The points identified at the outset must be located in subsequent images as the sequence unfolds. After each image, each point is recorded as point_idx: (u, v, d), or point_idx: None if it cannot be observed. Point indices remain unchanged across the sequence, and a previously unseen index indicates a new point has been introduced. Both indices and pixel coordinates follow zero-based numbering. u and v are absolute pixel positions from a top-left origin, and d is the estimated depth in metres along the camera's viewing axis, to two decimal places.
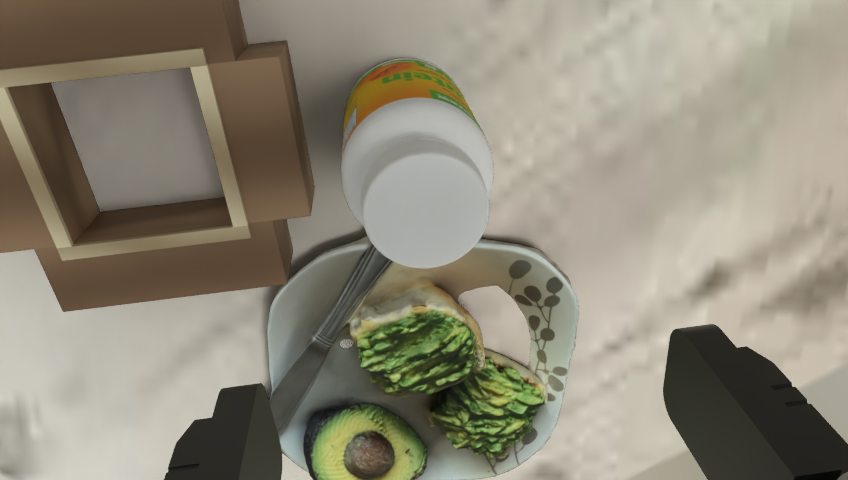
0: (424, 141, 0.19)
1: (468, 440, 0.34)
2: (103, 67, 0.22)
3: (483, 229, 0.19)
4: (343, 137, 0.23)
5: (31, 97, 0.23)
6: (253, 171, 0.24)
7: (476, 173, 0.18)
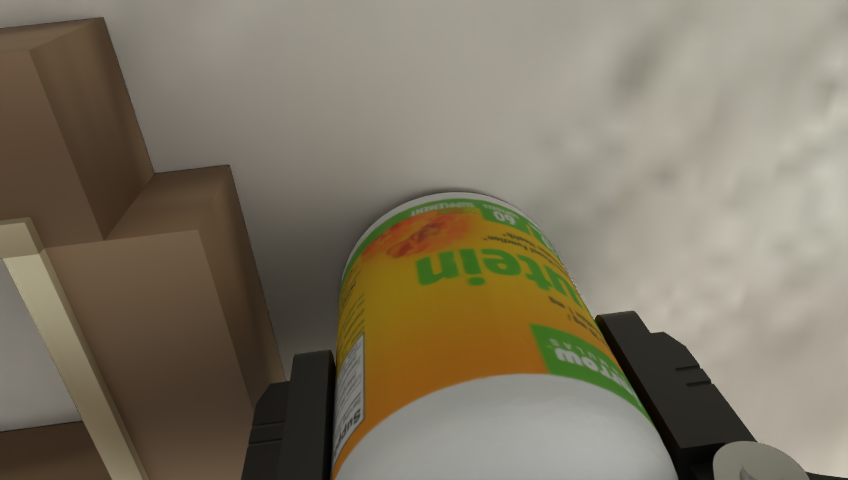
0: None
1: None
2: None
3: None
4: (336, 389, 0.11)
5: None
6: (162, 426, 0.13)
7: None
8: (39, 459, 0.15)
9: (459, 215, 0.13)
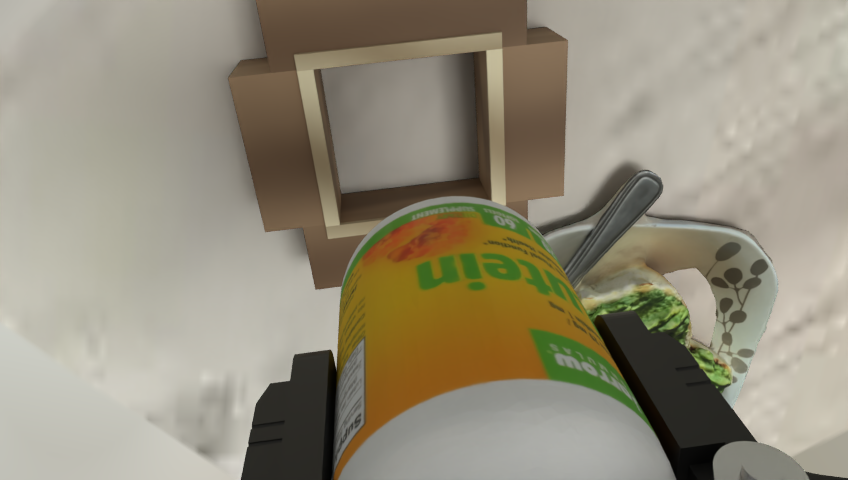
0: None
1: None
2: (407, 50, 0.23)
3: None
4: (337, 393, 0.11)
5: (318, 80, 0.24)
6: (520, 152, 0.25)
7: None
8: (422, 194, 0.28)
9: (459, 219, 0.13)
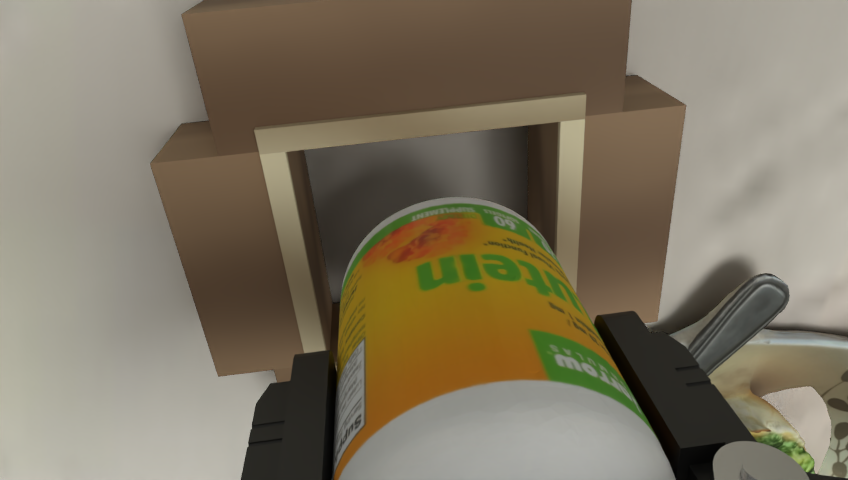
0: None
1: None
2: (436, 122, 0.14)
3: None
4: (337, 394, 0.11)
5: (296, 160, 0.16)
6: (600, 265, 0.17)
7: None
8: None
9: (459, 220, 0.13)
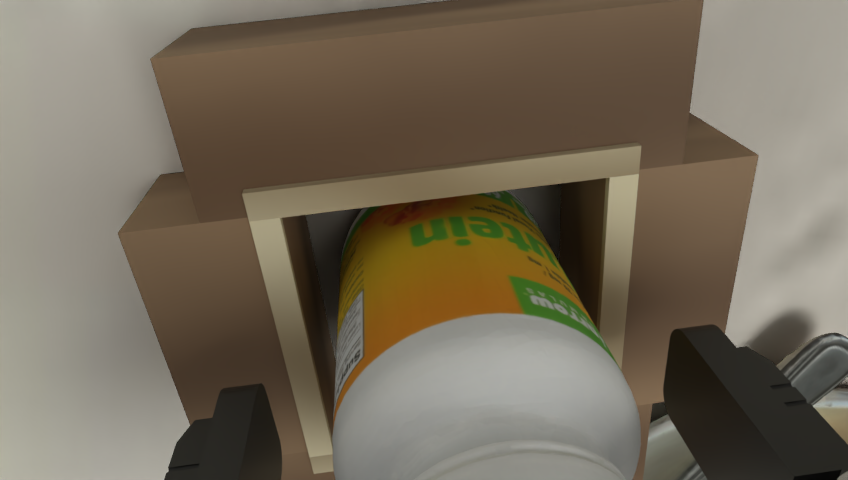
0: (525, 461, 0.08)
1: None
2: (461, 181, 0.12)
3: None
4: (338, 341, 0.12)
5: (294, 219, 0.14)
6: (649, 335, 0.15)
7: None
8: None
9: None
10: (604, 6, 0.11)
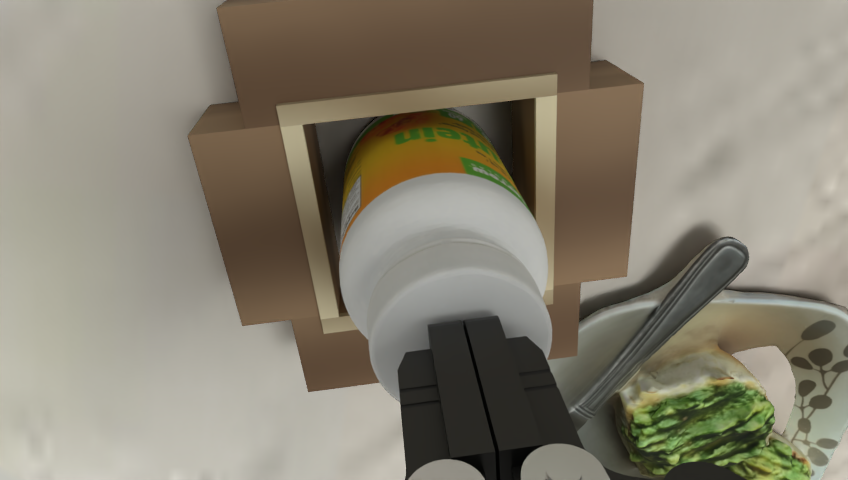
0: (459, 245, 0.13)
1: None
2: (430, 98, 0.17)
3: None
4: (342, 214, 0.17)
5: (310, 134, 0.19)
6: (574, 225, 0.20)
7: (535, 294, 0.13)
8: None
9: (424, 113, 0.19)
10: None
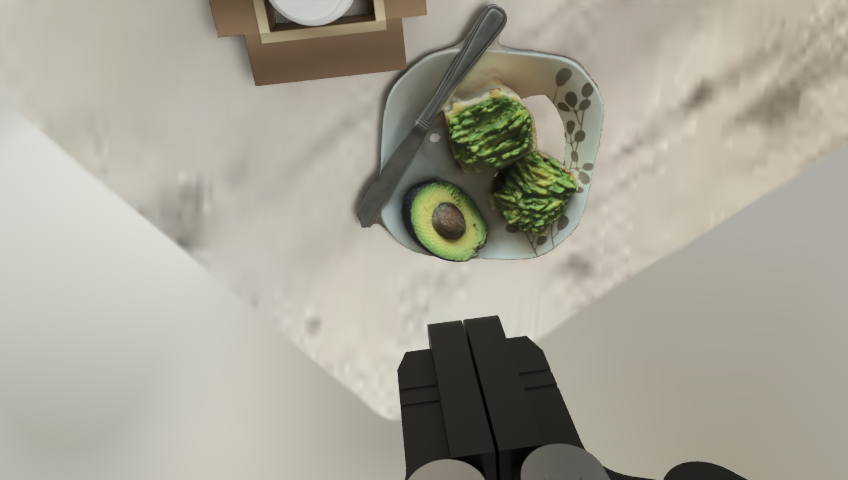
0: None
1: (519, 217, 0.47)
2: None
3: None
4: None
5: None
6: None
7: None
8: None
9: None
10: None
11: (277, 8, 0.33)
